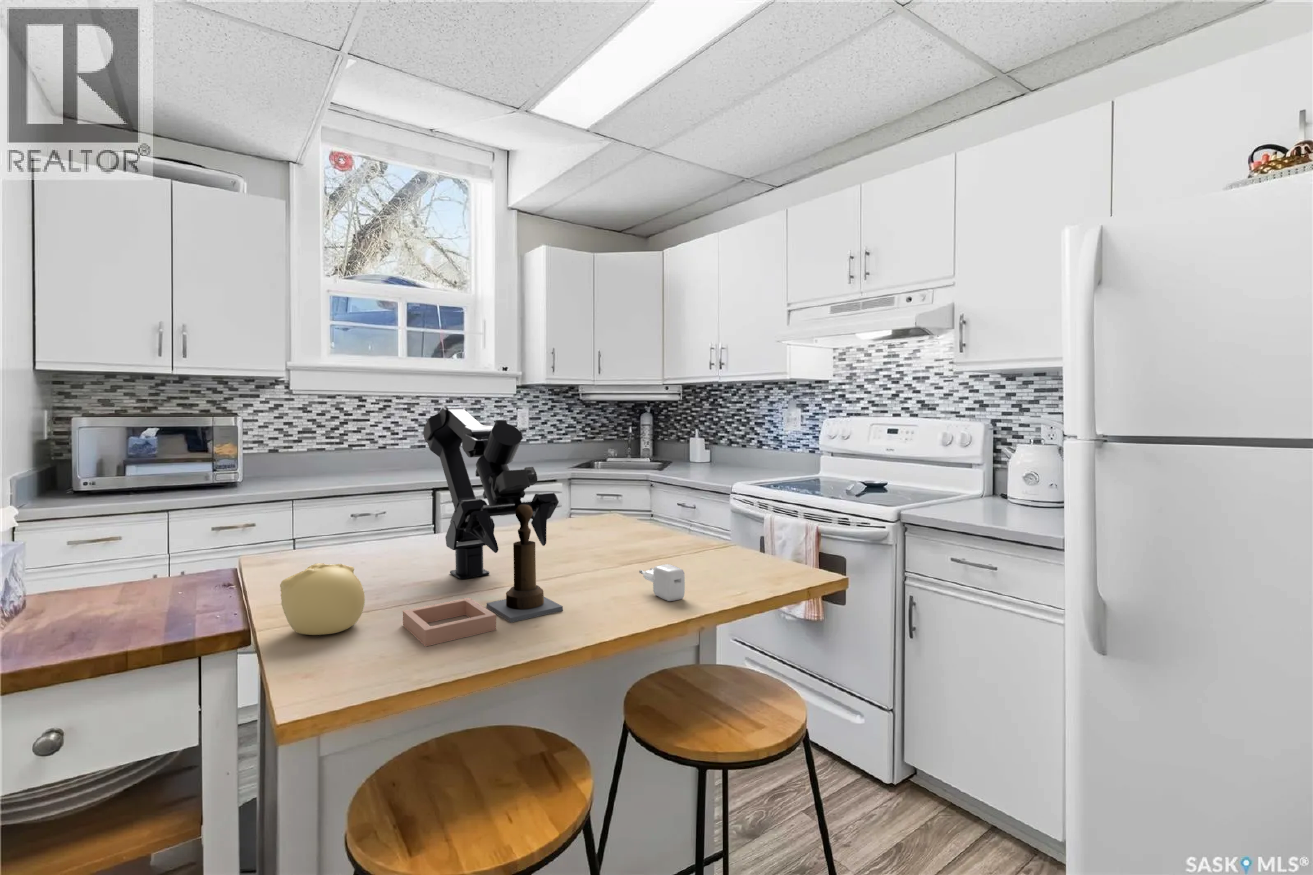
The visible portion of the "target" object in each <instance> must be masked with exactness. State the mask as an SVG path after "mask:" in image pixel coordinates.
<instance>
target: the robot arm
mask: <svg viewBox="0 0 1313 875" xmlns="http://www.w3.org/2000/svg"><path fill="white" fill-rule="evenodd" d="M422 434H423V438H424V440H425V441H426V443H427V445H428V446H427V447H428V449H429V450H430V452H432V453H433V454H434V455H436V456H437V457H439V460H440V463H441V467H442V469H443V473H444V476H445V480H446V484H447V487H448V491H449V494H450V497H451V501H452V504H453V509H454V511H453V513H452V516H451V519H450V521H449V522H450V524H449V526H448V529H447V531H446V534H445V543H446V544H445V545H446V547H447V548H448V549H450V550H451V551H455V554H454V556H455V569H453V570H450V571H449V573H450V574H451V575H453V576H454V577H456V578H458V579H459V580H465V579H469V578H470V579H471V578H476V577H482V576H486V575H487V576H488V575H490V571H489V570H487V569H484V546H486V547H488V549H490V550H491V551H492V552H493V553H495V554H496V553H497V554H498V551H499V544H498V542H497V541H498V540H496V537H495V534H494V533H495V525H496V524H495V523H494V521H495V520H494V519H493V518H492V517H495V516H498V517H499V516H500V517H502V516H511V515H516V514H515V511H516V508H517V507H518V506H519V505H521V504H526V505H529V506H530V507H531V508H532V510H533V514H532V517H531V519H530V520H531V522H530V524H531V526H532V528H533V531H534V532H535V534H536V536H537V538H538V540H539V543H540V545H541V546H543V547H545V545H546V544H547V522H548V520H549V519H551V518H552V516H553V514H554V513H555V510H556V509H557V506H558V504H559V502H560V500H559V499H558V496H557V495H556V493H555V492H553V491H549V492H541V493H539V492H537V493H535V494H534V495H533V498H532V499H531V501H524V502H522V500H521V499H524V498H525V496H526V492H525V490H526V489H527V488H530V487H531V486H535V484H537V483H538V474H537V472H536V469H535V468H534V466H525V467H524V468H523V469H522V468H521V469H510V468H509V465H508V464H510V463H512V462H513V461H514V458H515V456H516V455H517V454H516V453H517V452H518V449H519V446H520V444H521V443H522V439H523V434H522V432H521V431H520V430H519V429H518V428H517V427H516V426H514V425H512V424H510V423H508V421H507V420H506V419H495V422H494V425H493V426H492V425H485V424H482V423H480V422H479V421H478V420H477V419H475V417H473V416H472V415H471V414H470V413H469V412H468V410H467V408H466V407H463V406H445V407H442V408H441V409H440V411H439V412H438V413H437V414H435V415H432V416H431V417H429V418H428V419H427V421H426V423H425V424H424V426H423V433H422ZM461 448H462V450H463V452H464V453H465V455H466V456H467V457H468V458H470V459H471V458H478V459H477V461H476V462H475V467H476V470H475V477H476V478H477V477H479V478H480V482H481V485H482V488H483V493H482V498H483V499H482V498H477V497H476V496H475V492H474V489H473V485H472V483H471V480H470V477H469V474H468V469H467V466H466V464H465V461H464V460H465V459H464V456H463V453H462V451H461ZM484 499H486V500H487V502H488V503H487V502H486V501H485V500H484Z"/></svg>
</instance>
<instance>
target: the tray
mask: <svg viewBox="0 0 1313 875" xmlns="http://www.w3.org/2000/svg"><path fill="white" fill-rule="evenodd" d="M461 616H466V617H467V618H463V619H459V620H455V621H454V620H453V621H450V622H444V623H440V624H436V625H431V626H430V624H428V623H433V622H437V621H442V620H446V619H451V618H455V617H456V618H457V617H461ZM402 627H404V628H405V629H406V630H407V631H408V632H409V633H410V634H412V635H413V637H415V638H416V639H417V641H419V642H420V643H421V644H423V646H425V647H429V646H432V645H433V646H434V645H438V644H442V643H445V642H450V641H454V640H460V639H462V638H467V637H471V636H475V635H476V636H477V635H480V634H481V635H482V634H484V633H489V632H494V631H497V614H496V613H495V612H493V611H491V610H490V609H488V608H487V607H485V606H484V605H483V604H480V603H479V602H477V601H475V600H474V599H472V598H471V597H465V598H460V599H455V600H451V601H445V602H440V603H435V604H430V605H424V606H419V607H415V608H409V609H404V610H402Z"/></svg>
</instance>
